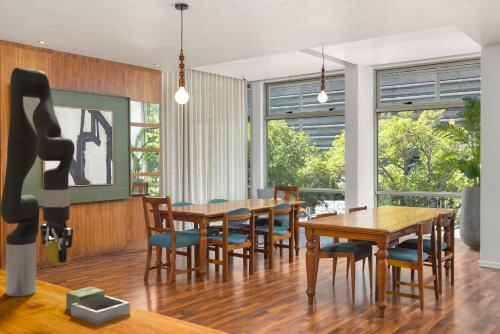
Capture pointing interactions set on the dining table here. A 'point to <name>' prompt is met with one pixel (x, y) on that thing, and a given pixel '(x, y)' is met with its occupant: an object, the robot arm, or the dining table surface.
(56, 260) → the lemon
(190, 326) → the dining table surface
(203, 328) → the dining table surface
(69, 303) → the square open box
